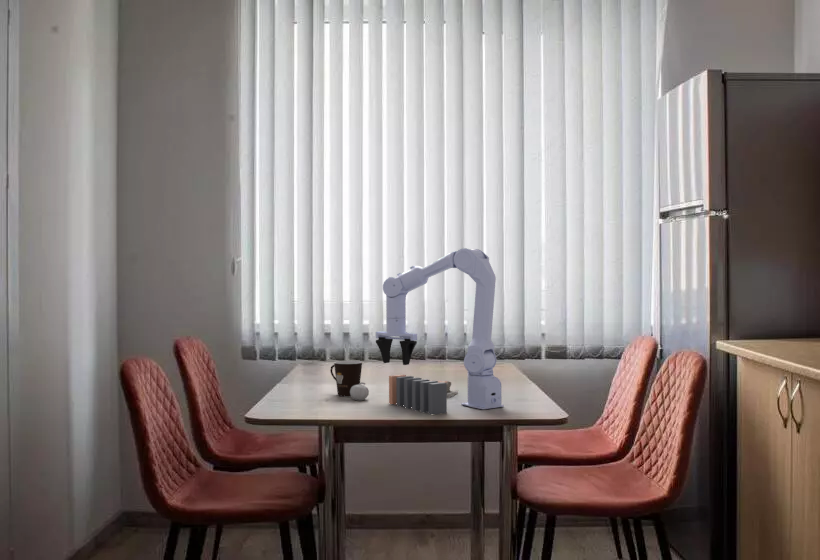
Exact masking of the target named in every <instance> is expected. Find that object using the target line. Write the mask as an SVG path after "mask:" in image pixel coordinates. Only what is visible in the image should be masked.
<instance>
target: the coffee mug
mask: <svg viewBox="0 0 820 560" xmlns="http://www.w3.org/2000/svg"><path fill="white" fill-rule="evenodd" d="M362 367H363V361H360V360H338V361H334V362H333V364H332V365H331V367H330V374H331V376H332V377H333V379H334V381H335V382H336V391H337V396H338V395H339V397H344V396H350V397H351V395H350V389H351V388H352V386H354V385H359V383H360V382H361V377H362V376H361V375H362ZM333 369H334V373H333ZM334 374H335V375H334Z"/></svg>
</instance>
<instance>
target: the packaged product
mask: <svg viewBox="0 0 820 560" xmlns="http://www.w3.org/2000/svg"><path fill="white" fill-rule="evenodd" d="M429 380H430V381H436V379H435V380H434V379H433V380H432V379H429ZM437 381H438V383H439V382H445V383H447V399H450V398H451V397H453V396H456V395H458V393H459V390H458V389H454V390H453V389H451V386H452V382H451V381H449V380H445V381H443V380H437Z"/></svg>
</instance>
